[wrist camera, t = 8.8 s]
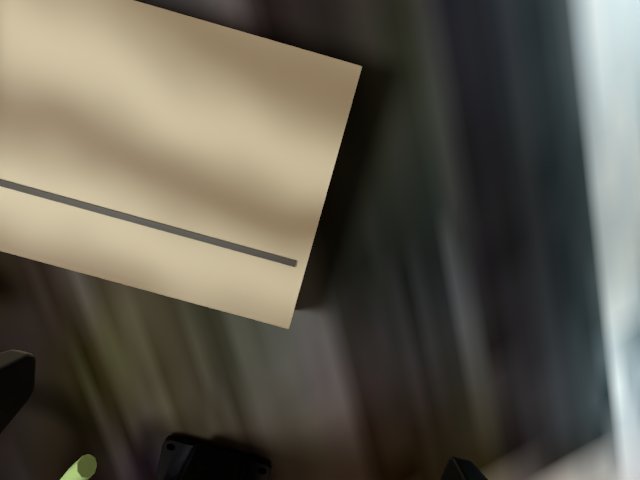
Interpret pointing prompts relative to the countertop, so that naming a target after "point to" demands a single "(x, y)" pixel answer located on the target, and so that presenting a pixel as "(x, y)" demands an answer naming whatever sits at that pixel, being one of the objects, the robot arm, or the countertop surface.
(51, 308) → the countertop surface
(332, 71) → the board
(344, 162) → the countertop surface
